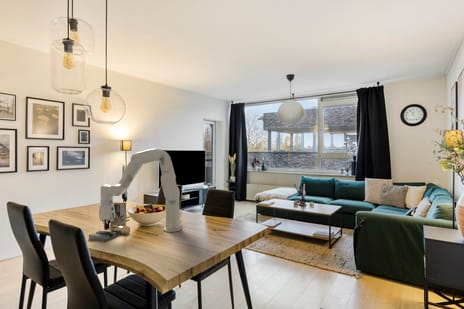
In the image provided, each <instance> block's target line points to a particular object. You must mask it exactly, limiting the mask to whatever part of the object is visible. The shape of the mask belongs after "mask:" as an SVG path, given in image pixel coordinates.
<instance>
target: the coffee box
mask: <svg viewBox="0 0 464 309" xmlns="http://www.w3.org/2000/svg"><path fill="white" fill-rule="evenodd" d="M113 204H114V208H115V218H114V221H112V222H110V226H113V225H115V226H124V225H125V224H126V222H127V220H126V210H127V209H126V202H114V203H113Z"/></svg>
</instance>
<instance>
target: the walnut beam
mask: <svg viewBox="0 0 464 309" xmlns="http://www.w3.org/2000/svg"><path fill="white" fill-rule="evenodd" d="M112 232H116V237H119V236H120V234H119V230H112Z"/></svg>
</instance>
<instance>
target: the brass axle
mask: <svg viewBox="0 0 464 309" xmlns="http://www.w3.org/2000/svg"><path fill="white" fill-rule="evenodd" d="M109 229H110V231H109V232H112V230H119V235H128V234H130V232H131V228H130V226H124V225H121V226H117V225H111V226H110V228H109Z"/></svg>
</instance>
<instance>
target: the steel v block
mask: <svg viewBox="0 0 464 309" xmlns="http://www.w3.org/2000/svg"><path fill="white" fill-rule="evenodd" d="M114 238H117V236H116V232H110V231H108V230H98V231H96V232H95V233H90V234H88V240H89V241H97V242H98V241H99V242H108V241H111V240H112V239H114Z"/></svg>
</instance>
